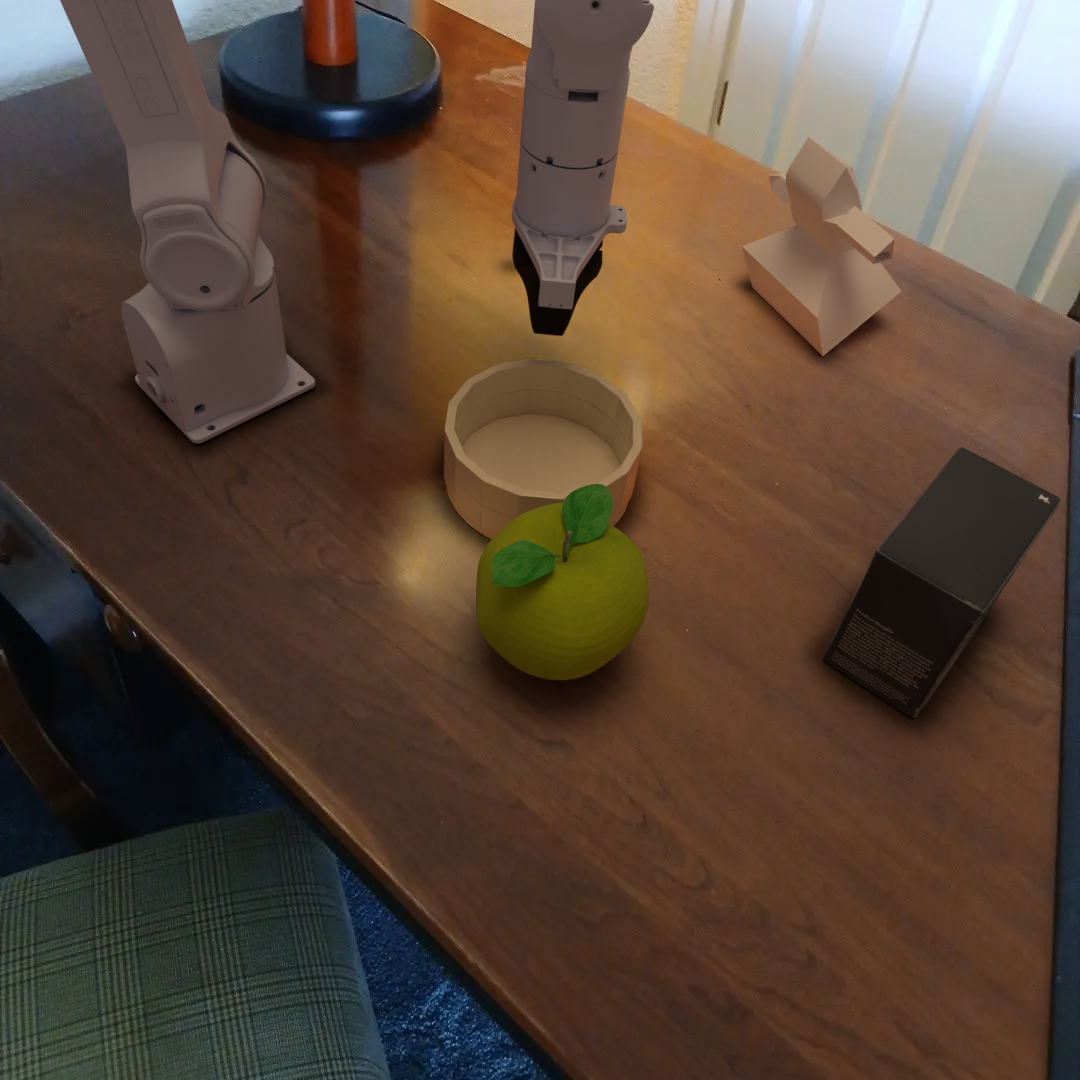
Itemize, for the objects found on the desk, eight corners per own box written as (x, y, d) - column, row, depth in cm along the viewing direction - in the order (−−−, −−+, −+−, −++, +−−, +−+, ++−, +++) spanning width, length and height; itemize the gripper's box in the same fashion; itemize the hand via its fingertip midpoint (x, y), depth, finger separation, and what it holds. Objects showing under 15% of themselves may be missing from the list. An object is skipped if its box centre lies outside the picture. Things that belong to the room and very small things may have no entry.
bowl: (532, 583, 63) (538, 530, 59) (406, 468, 68) (405, 412, 65) (668, 490, 69) (682, 436, 65) (543, 390, 74) (549, 335, 70)
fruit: (438, 642, 60) (439, 529, 52) (550, 556, 65) (566, 441, 57) (554, 746, 56) (573, 641, 49) (664, 647, 61) (697, 537, 53)
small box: (896, 555, 67) (959, 438, 59) (990, 611, 65) (1070, 497, 57) (814, 657, 61) (872, 544, 53) (914, 723, 59) (991, 614, 51)
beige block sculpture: (794, 242, 89) (843, 84, 78) (904, 341, 81) (974, 182, 71) (713, 265, 86) (752, 104, 75) (819, 370, 78) (879, 208, 68)
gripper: (640, 220, 56) (607, 406, 67) (636, 88, 66) (607, 269, 76) (509, 207, 56) (496, 396, 66) (523, 76, 65) (510, 260, 76)
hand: (548, 328), depth 71 cm, fingers closed
